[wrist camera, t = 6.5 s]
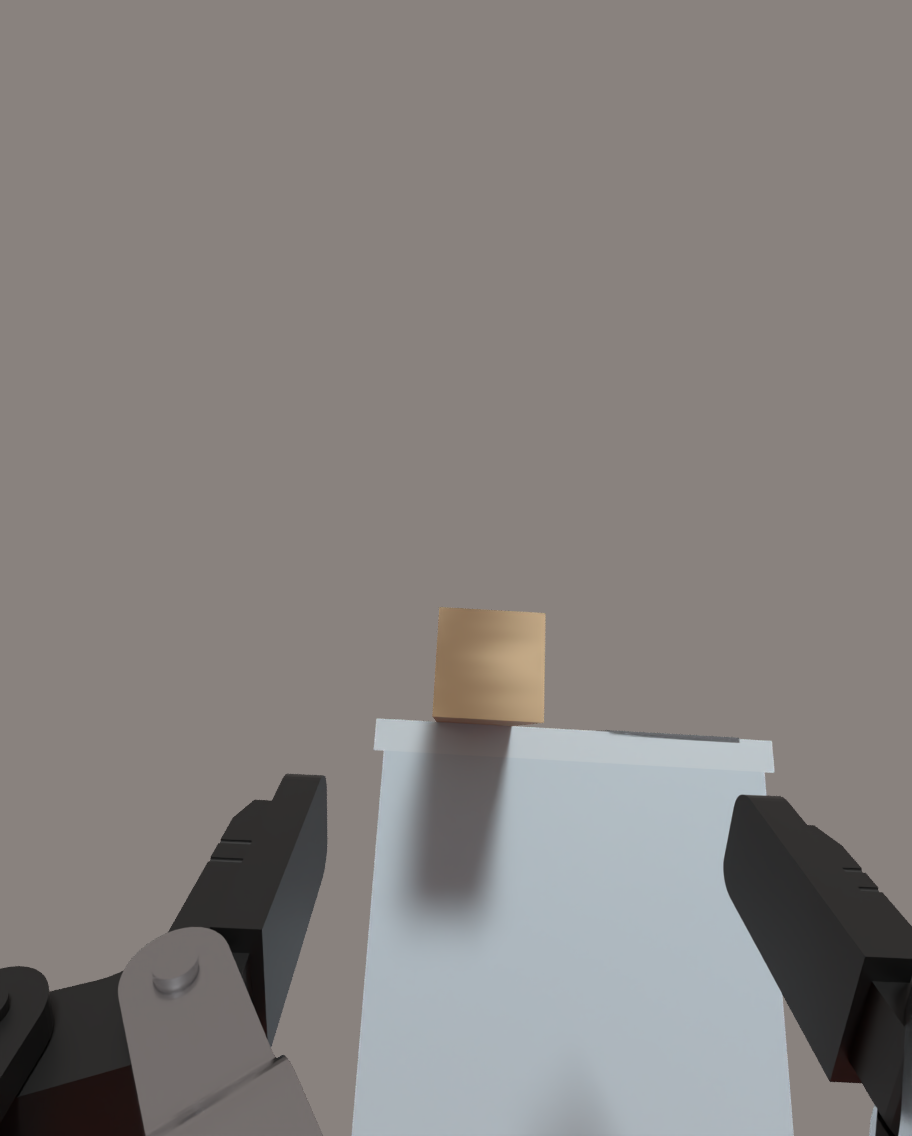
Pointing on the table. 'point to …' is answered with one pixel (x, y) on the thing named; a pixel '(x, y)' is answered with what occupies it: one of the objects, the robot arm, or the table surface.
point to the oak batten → (489, 667)
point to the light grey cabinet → (564, 939)
